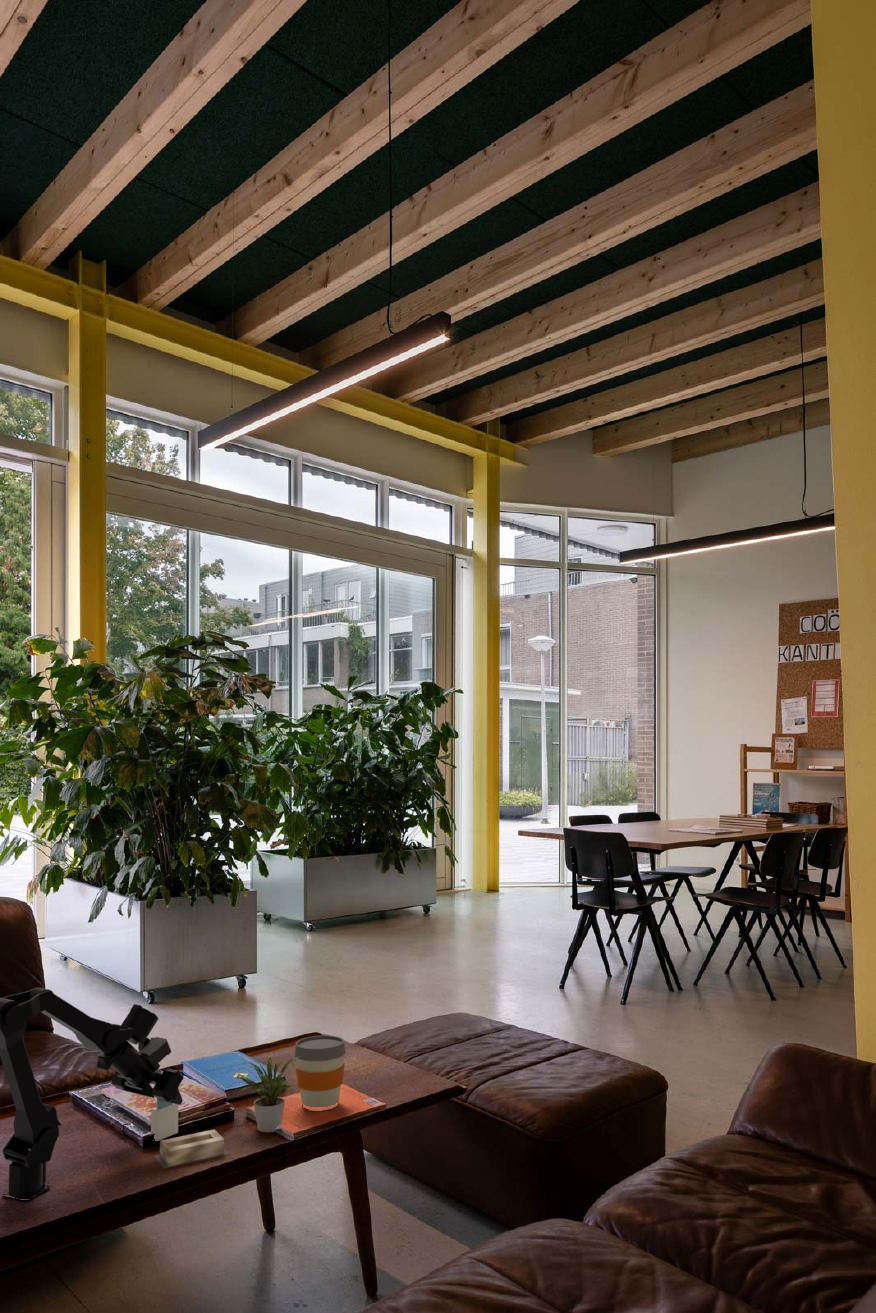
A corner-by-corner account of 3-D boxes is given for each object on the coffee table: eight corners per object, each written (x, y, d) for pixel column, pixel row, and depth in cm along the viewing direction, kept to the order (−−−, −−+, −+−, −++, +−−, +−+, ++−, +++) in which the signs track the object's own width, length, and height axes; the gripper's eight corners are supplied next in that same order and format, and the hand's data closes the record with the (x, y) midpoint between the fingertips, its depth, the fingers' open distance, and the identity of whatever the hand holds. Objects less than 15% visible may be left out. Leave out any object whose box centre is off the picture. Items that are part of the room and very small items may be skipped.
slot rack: (168, 1166, 202) (168, 1151, 202) (159, 1155, 208) (160, 1140, 208) (224, 1153, 208) (224, 1139, 208) (214, 1143, 214) (214, 1129, 214)
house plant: (280, 1112, 234) (280, 1042, 236) (315, 1126, 224) (314, 1053, 226) (229, 1128, 224) (229, 1055, 226) (263, 1143, 214) (263, 1067, 216)
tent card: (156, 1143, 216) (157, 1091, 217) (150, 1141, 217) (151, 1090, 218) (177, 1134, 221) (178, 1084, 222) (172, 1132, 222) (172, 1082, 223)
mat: (164, 1170, 201) (164, 1168, 201) (154, 1157, 208) (154, 1155, 208) (229, 1155, 208) (229, 1153, 208) (218, 1143, 215) (218, 1141, 215)
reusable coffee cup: (332, 1116, 230) (331, 1050, 232) (285, 1111, 234) (285, 1046, 236) (354, 1099, 242) (353, 1037, 244) (309, 1094, 246) (309, 1033, 248)
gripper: (177, 1034, 213) (214, 1072, 220) (123, 1023, 223) (161, 1060, 231) (147, 1081, 205) (187, 1119, 213) (93, 1067, 216) (133, 1104, 224)
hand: (167, 1099), depth 220 cm, fingers open, 9 cm apart
